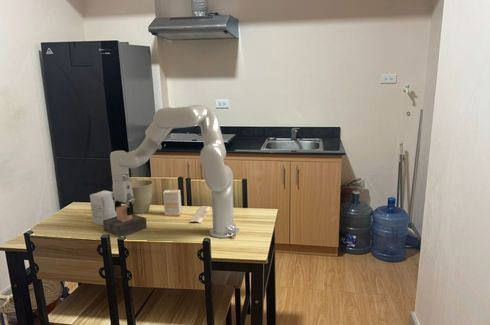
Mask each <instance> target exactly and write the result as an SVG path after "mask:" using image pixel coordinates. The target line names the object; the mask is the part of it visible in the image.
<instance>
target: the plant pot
mask: <svg viewBox="0 0 490 325" xmlns="http://www.w3.org/2000/svg"><path fill="white" fill-rule="evenodd" d="M130 182H131V185H132V190H133V197H134V198H135V201H134V206H133V211H134V214H135V215H142V214H146V213H149V210H150V208H151V203H152V200H153V193H154V181H153V180H149V179H139V180H138V179H137V180H132V181H131V180H130Z"/></svg>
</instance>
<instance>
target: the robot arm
mask: <svg viewBox="0 0 490 325" xmlns="http://www.w3.org/2000/svg"><path fill="white" fill-rule="evenodd" d="M152 120H153V121H152V122H151V123H150V125H149V126H147V128H146V129H145V132H144V133H145V138H144V139H143V141H142V142H141V144H139V146H138V147H136V149H134V150H132V151H127V152H126V151H125V150H115V151H112V152H110V154H109V158H110V167H111V169H110V170H111V177H112V191H111V192H112V193H111V195H112V199H113V200H114V201H113V202H114V203H115V204H114V206H115V212H116V207H120V206H122V203H123V204H125V205H127V207H126V208H127V215H128V216H129V215H132V214H135V212H134V210H133V206H134V201H135V198H134V197H133V190H132V185H131V180H130V178H131V177H130V171H129V170H130V169H136V168H138V167H140V166H142V165H144V164H146V163H147V162H148V161H149V160H150V159H151V158H152V156H153V155H154V154H155V153H156V152H157V150H158V148H159V147H160V145H161V143H162V142H163V141H164V140H165V139H166V137H167V136H168V135H169V134H170V133H171V131H172V130H173V129H182V128H191V127H195V126H197V125H199V127H200V131H201V138H202V142H203V147H202V149H201V150H200V155H199V160H200V163H201V168H202V172H203V177H204V181H205V184H206V185H207V187H208V189H209V190H211V214H212V215H211V216H212V227H211V229H209V234H210V236H211V237H213V238H219V239H225V238H231V237H234V236H235V235H238V234H239V232H240V231H241V229H240V228H239V227H236V223H234V189H233V188H234V173H233V170H232V168H231V167H230V166H228V165H226V164H225V161H224V160H225V158H226V156H227V150H226V146H225V143H224V142H225V141H224V138H223V135H222V130H221V126H220V122H219V119H218V117H217V115H216V113H215V112H214V111H213V110H212V109H211V108H209V107H207V106H205V105H202V104H192V105H188V106H180V107H179V106H177V107H169V106H167V107H166V106H165V107H162V108H159V109H158V110H156V111H155V113H154V115H153V119H152Z"/></svg>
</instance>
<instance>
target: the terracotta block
mask: <svg viewBox="0 0 490 325" xmlns="http://www.w3.org/2000/svg"><path fill="white" fill-rule="evenodd" d="M126 207H127V205H126V204H124V205H121V206H120V207H116V214H117V220H119V221H122V222H125V221H128V220H131V219H132V215H129V216H128V215H127V208H126Z"/></svg>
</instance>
